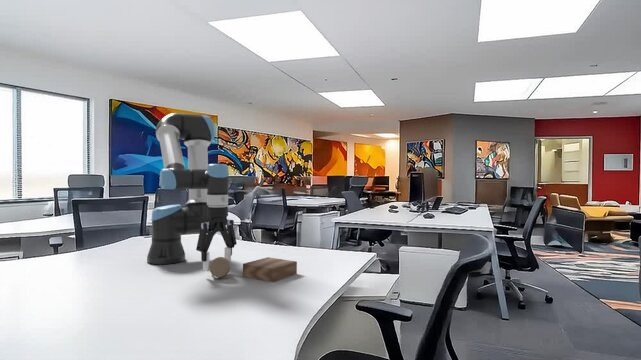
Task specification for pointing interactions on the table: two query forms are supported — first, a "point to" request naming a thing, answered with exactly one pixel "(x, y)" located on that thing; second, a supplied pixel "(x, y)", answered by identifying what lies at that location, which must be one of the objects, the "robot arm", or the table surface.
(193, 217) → the robot arm
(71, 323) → the table surface
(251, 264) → the riser block
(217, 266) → the brown round piece
